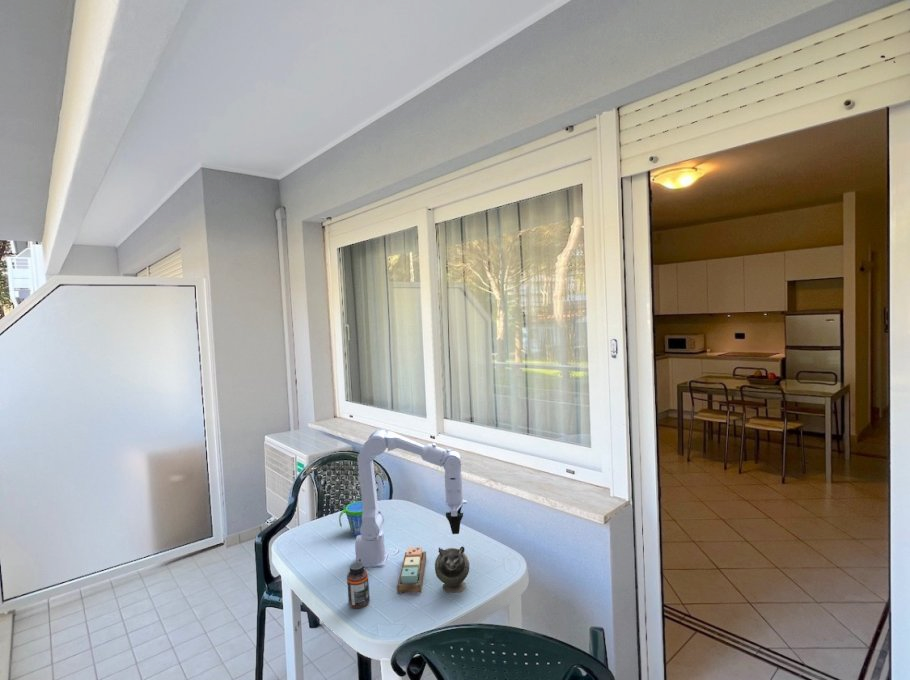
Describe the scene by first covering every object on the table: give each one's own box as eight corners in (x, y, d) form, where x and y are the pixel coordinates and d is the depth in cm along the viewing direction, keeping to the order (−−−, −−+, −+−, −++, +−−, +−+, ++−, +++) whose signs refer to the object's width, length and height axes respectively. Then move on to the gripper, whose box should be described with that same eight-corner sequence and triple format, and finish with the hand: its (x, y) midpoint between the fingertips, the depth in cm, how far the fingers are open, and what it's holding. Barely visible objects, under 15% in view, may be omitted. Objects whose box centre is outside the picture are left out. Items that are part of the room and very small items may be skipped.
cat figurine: (443, 601, 135) (476, 591, 139) (439, 561, 134) (473, 552, 138) (432, 583, 145) (463, 574, 148) (429, 545, 144) (460, 537, 147)
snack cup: (339, 540, 175) (337, 514, 174) (341, 528, 185) (339, 502, 185) (381, 535, 177) (380, 509, 177) (381, 523, 188) (379, 498, 187)
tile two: (401, 586, 141) (401, 575, 141) (403, 577, 146) (403, 567, 145) (417, 585, 141) (416, 575, 141) (418, 577, 145) (418, 566, 145)
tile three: (406, 564, 153) (406, 554, 153) (408, 556, 158) (408, 547, 158) (421, 563, 153) (420, 553, 153) (422, 556, 158) (421, 546, 158)
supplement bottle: (350, 597, 139) (347, 560, 138) (370, 595, 140) (368, 558, 139) (347, 610, 133) (344, 571, 132) (368, 608, 134) (366, 569, 133)
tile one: (404, 574, 147) (403, 564, 147) (406, 566, 152) (405, 556, 152) (419, 574, 147) (418, 563, 147) (420, 566, 152) (419, 556, 151)
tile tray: (397, 593, 140) (397, 585, 140) (405, 559, 159) (405, 552, 159) (421, 592, 140) (420, 584, 140) (426, 558, 159) (426, 551, 159)
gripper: (465, 496, 150) (468, 538, 151) (465, 480, 164) (467, 518, 165) (443, 497, 150) (445, 538, 151) (445, 480, 164) (447, 518, 165)
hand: (455, 528), depth 158 cm, fingers open, 7 cm apart
